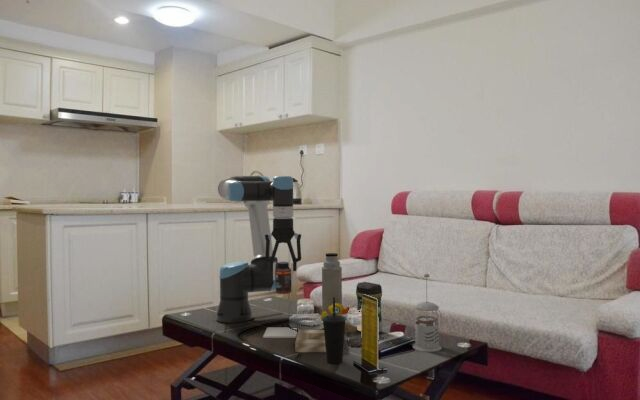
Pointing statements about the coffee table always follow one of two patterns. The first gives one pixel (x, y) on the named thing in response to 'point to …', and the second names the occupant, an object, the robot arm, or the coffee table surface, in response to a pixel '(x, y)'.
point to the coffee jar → (370, 290)
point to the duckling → (336, 310)
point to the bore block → (310, 341)
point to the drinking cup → (334, 336)
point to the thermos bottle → (331, 282)
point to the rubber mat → (279, 332)
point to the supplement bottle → (283, 278)
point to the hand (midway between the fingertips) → (283, 279)
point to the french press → (427, 327)
